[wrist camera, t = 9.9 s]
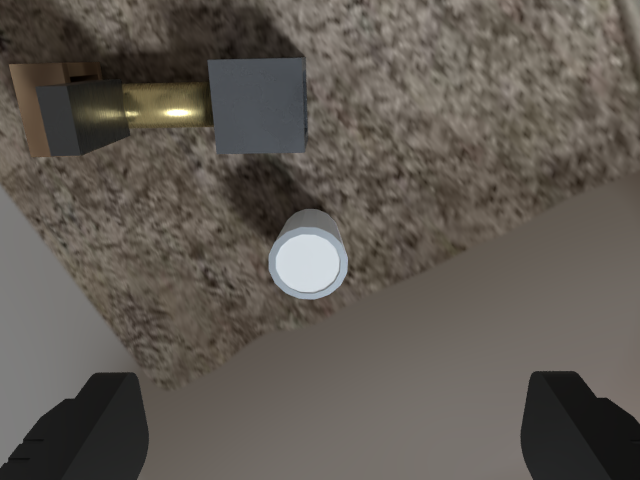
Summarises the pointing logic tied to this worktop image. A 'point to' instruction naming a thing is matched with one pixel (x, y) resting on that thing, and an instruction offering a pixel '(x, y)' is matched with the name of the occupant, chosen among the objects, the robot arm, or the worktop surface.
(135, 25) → the worktop surface
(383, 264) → the worktop surface
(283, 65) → the block
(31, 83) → the socket block
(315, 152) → the worktop surface
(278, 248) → the shot glass
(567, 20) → the worktop surface
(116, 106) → the slide bolt
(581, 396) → the robot arm
